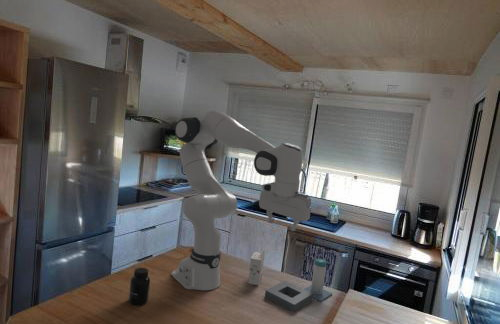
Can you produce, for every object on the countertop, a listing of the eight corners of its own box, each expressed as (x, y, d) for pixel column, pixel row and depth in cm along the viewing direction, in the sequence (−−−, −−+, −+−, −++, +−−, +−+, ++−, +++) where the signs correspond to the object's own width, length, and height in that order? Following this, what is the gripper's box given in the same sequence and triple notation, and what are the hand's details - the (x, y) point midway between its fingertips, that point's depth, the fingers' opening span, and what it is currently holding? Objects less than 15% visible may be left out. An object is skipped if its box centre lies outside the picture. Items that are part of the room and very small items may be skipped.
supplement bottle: (127, 306, 121) (130, 274, 120) (129, 297, 127) (131, 266, 126) (148, 306, 123) (150, 274, 121) (148, 296, 129) (151, 266, 128)
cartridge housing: (264, 297, 139) (265, 290, 139) (284, 287, 150) (285, 280, 149) (293, 312, 130) (294, 304, 130) (312, 300, 141) (313, 293, 140)
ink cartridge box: (251, 275, 157) (255, 245, 156) (261, 277, 156) (265, 247, 155) (247, 283, 149) (251, 251, 147) (258, 286, 148) (262, 253, 146)
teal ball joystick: (308, 291, 147) (312, 260, 145) (314, 288, 151) (318, 257, 149) (318, 296, 144) (323, 264, 142) (324, 292, 147) (328, 261, 146)
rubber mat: (300, 292, 147) (300, 290, 146) (312, 285, 154) (312, 284, 154) (320, 301, 140) (321, 300, 140) (332, 294, 148) (332, 293, 148)
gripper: (316, 194, 118) (310, 233, 119) (268, 182, 130) (264, 217, 132) (306, 196, 113) (301, 236, 115) (258, 184, 126) (254, 220, 127)
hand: (281, 226), depth 123 cm, fingers open, 8 cm apart
